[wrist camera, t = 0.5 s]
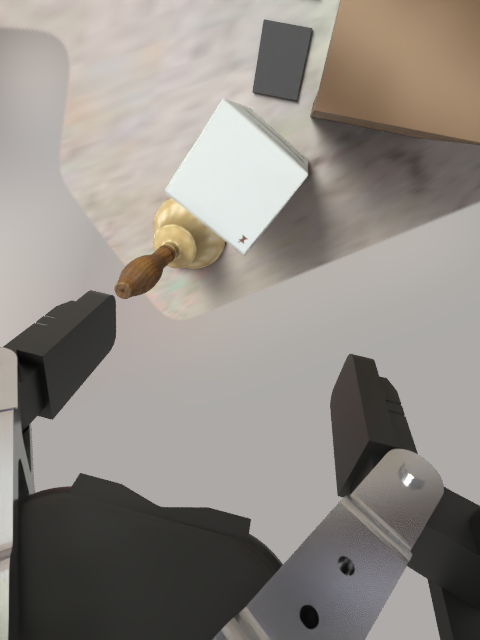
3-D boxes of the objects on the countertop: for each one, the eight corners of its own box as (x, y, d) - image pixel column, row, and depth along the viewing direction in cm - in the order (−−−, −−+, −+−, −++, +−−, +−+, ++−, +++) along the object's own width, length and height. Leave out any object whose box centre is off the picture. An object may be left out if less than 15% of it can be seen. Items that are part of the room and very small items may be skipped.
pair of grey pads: (283, -104, 25) (283, -106, 25) (338, -95, 25) (339, -97, 25) (253, 91, 31) (252, 91, 31) (296, 100, 31) (296, 100, 31)
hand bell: (166, 272, 41) (97, 345, 28) (144, 200, 38) (51, 244, 24) (233, 263, 39) (195, 337, 26) (217, 187, 36) (162, 225, 22)
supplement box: (310, 160, 33) (313, 177, 22) (261, 220, 37) (243, 260, 26) (251, 104, 32) (222, 93, 21) (205, 172, 35) (161, 193, 24)
